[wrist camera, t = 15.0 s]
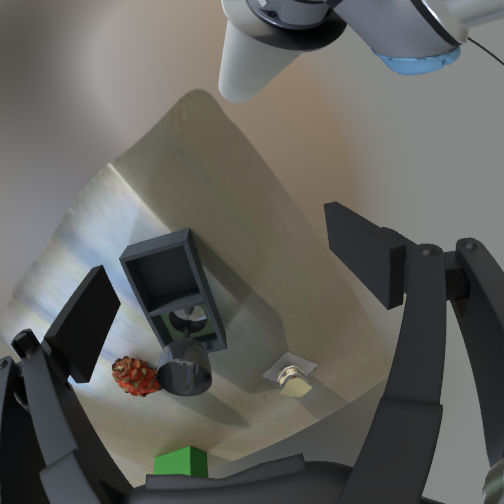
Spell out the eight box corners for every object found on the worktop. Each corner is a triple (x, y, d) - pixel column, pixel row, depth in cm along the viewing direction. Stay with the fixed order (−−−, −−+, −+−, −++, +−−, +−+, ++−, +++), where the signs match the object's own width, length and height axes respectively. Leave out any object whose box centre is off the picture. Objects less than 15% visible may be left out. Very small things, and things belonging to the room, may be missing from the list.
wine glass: (177, 293, 47) (167, 352, 33) (217, 311, 50) (222, 372, 36) (160, 324, 49) (148, 385, 36) (198, 340, 52) (197, 401, 38)
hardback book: (170, 464, 74) (171, 521, 52) (154, 457, 71) (152, 516, 49) (206, 453, 72) (211, 516, 50) (189, 445, 69) (192, 512, 47)
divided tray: (189, 227, 44) (187, 238, 39) (225, 331, 53) (227, 348, 48) (127, 246, 43) (118, 258, 39) (171, 343, 52) (169, 360, 48)
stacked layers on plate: (318, 364, 60) (325, 381, 55) (293, 387, 62) (298, 404, 57) (286, 351, 57) (292, 369, 52) (260, 376, 59) (265, 394, 54)
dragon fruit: (115, 342, 52) (162, 364, 58) (101, 375, 50) (148, 394, 55) (123, 354, 46) (175, 376, 51) (106, 391, 43) (160, 410, 49)
